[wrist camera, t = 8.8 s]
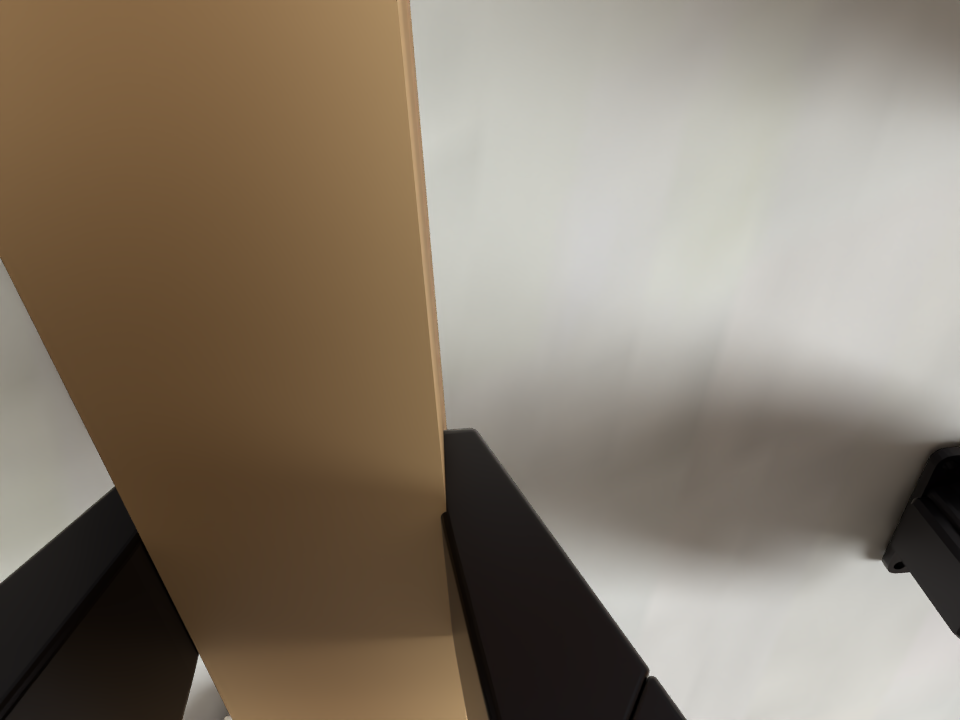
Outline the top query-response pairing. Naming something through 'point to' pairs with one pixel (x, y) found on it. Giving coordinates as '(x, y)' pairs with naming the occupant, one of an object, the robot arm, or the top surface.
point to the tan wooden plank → (247, 325)
